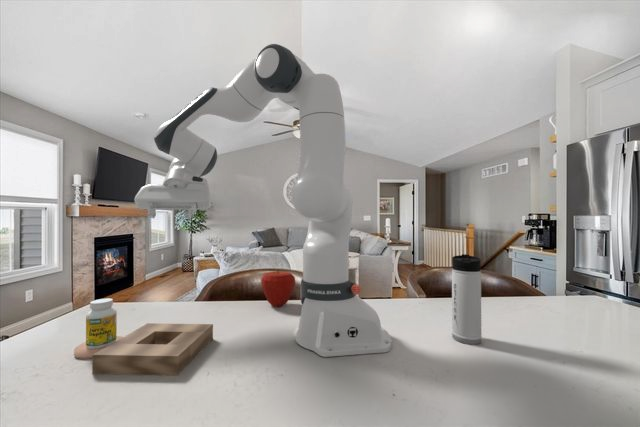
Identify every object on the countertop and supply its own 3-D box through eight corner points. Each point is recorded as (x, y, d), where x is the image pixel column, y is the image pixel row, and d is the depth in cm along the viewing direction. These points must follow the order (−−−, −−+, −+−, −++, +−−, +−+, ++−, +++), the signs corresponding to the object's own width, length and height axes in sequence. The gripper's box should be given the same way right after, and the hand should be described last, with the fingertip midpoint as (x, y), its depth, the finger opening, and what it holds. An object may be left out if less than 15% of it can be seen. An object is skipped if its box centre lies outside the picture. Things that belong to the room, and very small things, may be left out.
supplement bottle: (117, 337, 66) (117, 296, 67) (115, 345, 62) (116, 301, 62) (87, 342, 63) (88, 299, 64) (83, 352, 59) (84, 305, 59)
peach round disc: (134, 340, 67) (134, 336, 67) (104, 359, 58) (105, 354, 58) (97, 340, 67) (97, 335, 67) (62, 358, 58) (62, 353, 58)
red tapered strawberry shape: (301, 304, 96) (301, 268, 97) (280, 312, 87) (280, 273, 88) (276, 299, 102) (276, 265, 103) (254, 306, 93) (254, 269, 93)
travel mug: (480, 336, 70) (479, 254, 71) (482, 347, 64) (482, 258, 65) (452, 331, 73) (451, 253, 73) (452, 341, 67) (451, 256, 67)
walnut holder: (212, 338, 68) (213, 324, 68) (177, 375, 52) (177, 356, 52) (147, 338, 68) (147, 323, 69) (92, 373, 53) (92, 354, 53)
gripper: (139, 176, 85) (124, 207, 75) (212, 179, 89) (206, 208, 80) (145, 192, 89) (131, 224, 79) (213, 194, 94) (208, 224, 84)
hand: (169, 216), depth 80 cm, fingers open, 8 cm apart
